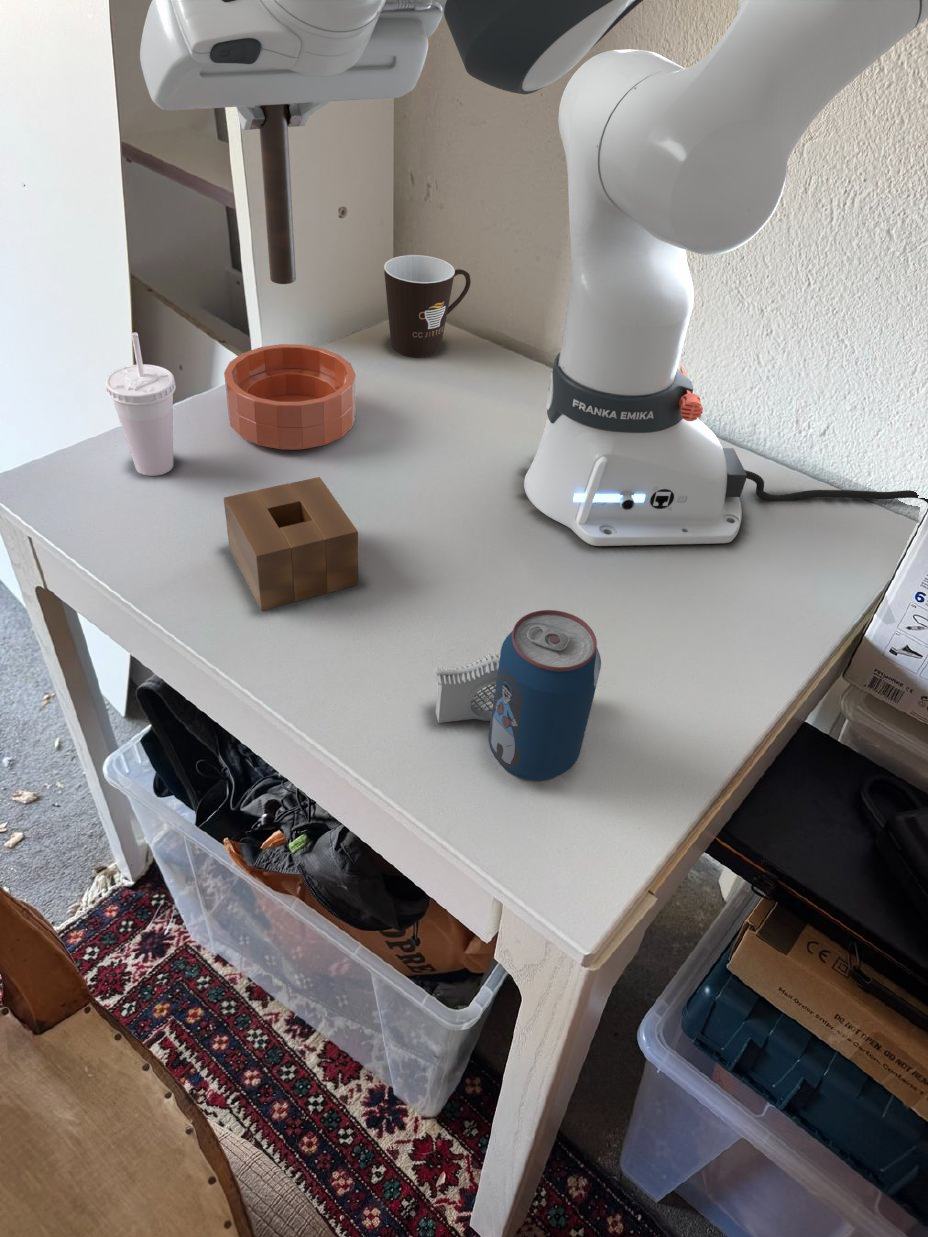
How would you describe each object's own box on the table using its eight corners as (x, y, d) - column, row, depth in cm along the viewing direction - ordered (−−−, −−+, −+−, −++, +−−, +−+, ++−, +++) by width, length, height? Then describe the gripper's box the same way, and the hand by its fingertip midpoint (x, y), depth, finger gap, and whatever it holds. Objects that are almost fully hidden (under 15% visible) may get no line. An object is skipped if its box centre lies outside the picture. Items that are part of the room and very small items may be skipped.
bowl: (362, 398, 108) (363, 350, 104) (344, 462, 98) (343, 411, 94) (246, 386, 108) (242, 338, 104) (215, 449, 98) (209, 398, 94)
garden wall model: (575, 694, 75) (588, 641, 71) (582, 711, 74) (595, 658, 70) (430, 711, 72) (434, 657, 69) (435, 728, 71) (439, 674, 67)
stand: (321, 529, 89) (319, 476, 85) (358, 584, 83) (358, 531, 79) (229, 551, 85) (223, 497, 81) (261, 611, 80) (256, 556, 76)
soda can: (589, 738, 72) (619, 624, 64) (559, 803, 67) (587, 688, 59) (507, 706, 73) (525, 591, 65) (472, 767, 69) (487, 651, 61)
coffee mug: (387, 362, 115) (389, 283, 108) (378, 331, 121) (379, 254, 114) (478, 360, 117) (485, 282, 111) (464, 330, 123) (470, 254, 117)
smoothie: (195, 452, 97) (178, 325, 87) (175, 486, 92) (154, 356, 83) (135, 445, 97) (111, 317, 88) (111, 479, 92) (83, 347, 83)
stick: (298, 275, 82) (282, -24, 67) (293, 285, 80) (276, -19, 66) (273, 273, 82) (252, -27, 67) (268, 283, 80) (245, -22, 65)
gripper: (438, -50, 64) (379, 74, 77) (139, -54, 56) (128, 86, 69) (464, 38, 64) (401, 148, 77) (169, 47, 56) (153, 168, 69)
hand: (270, 119), depth 73 cm, fingers closed on stick, 2 cm apart
